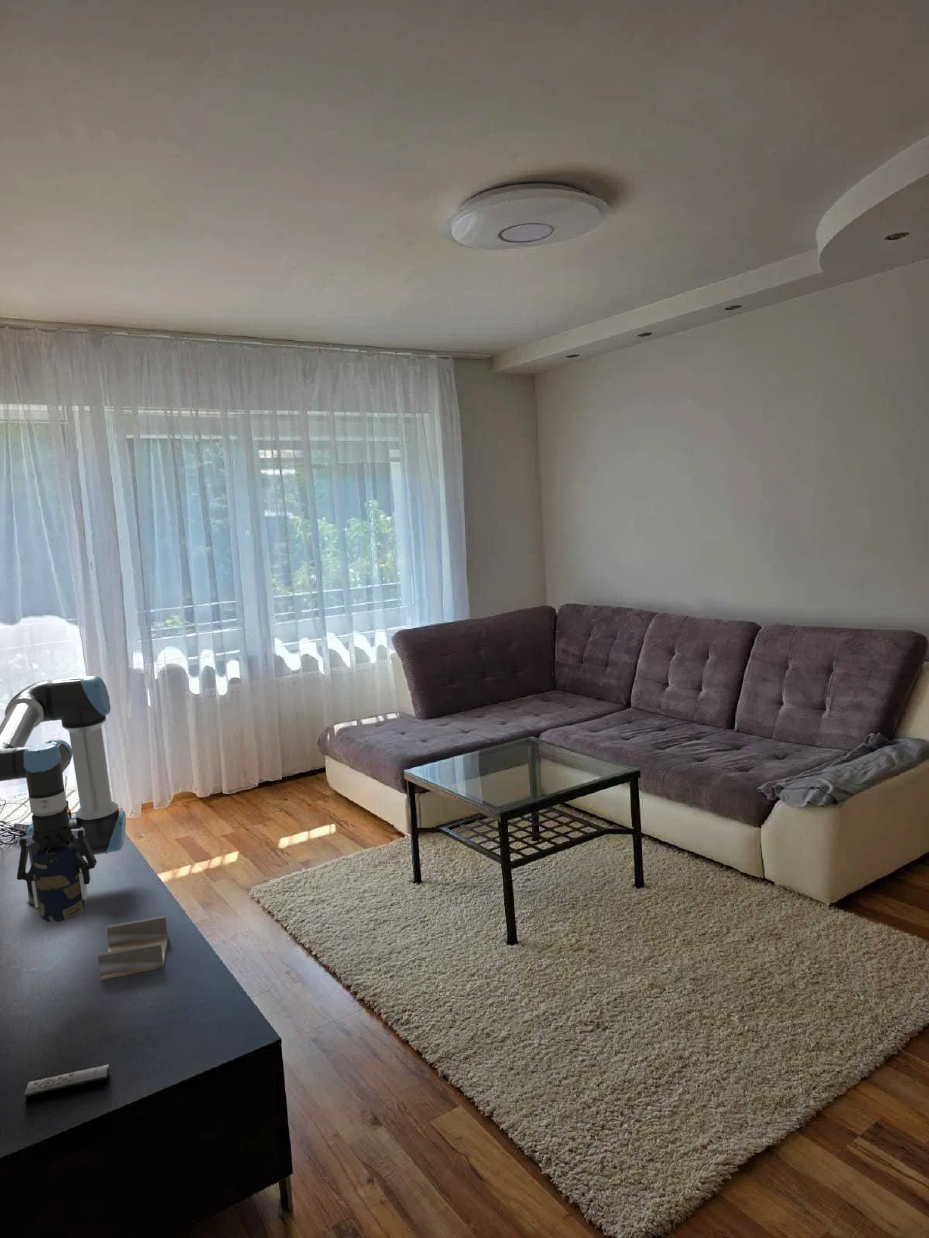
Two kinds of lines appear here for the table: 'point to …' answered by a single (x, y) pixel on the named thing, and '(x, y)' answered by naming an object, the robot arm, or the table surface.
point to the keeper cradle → (134, 947)
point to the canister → (58, 883)
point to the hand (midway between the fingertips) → (61, 900)
